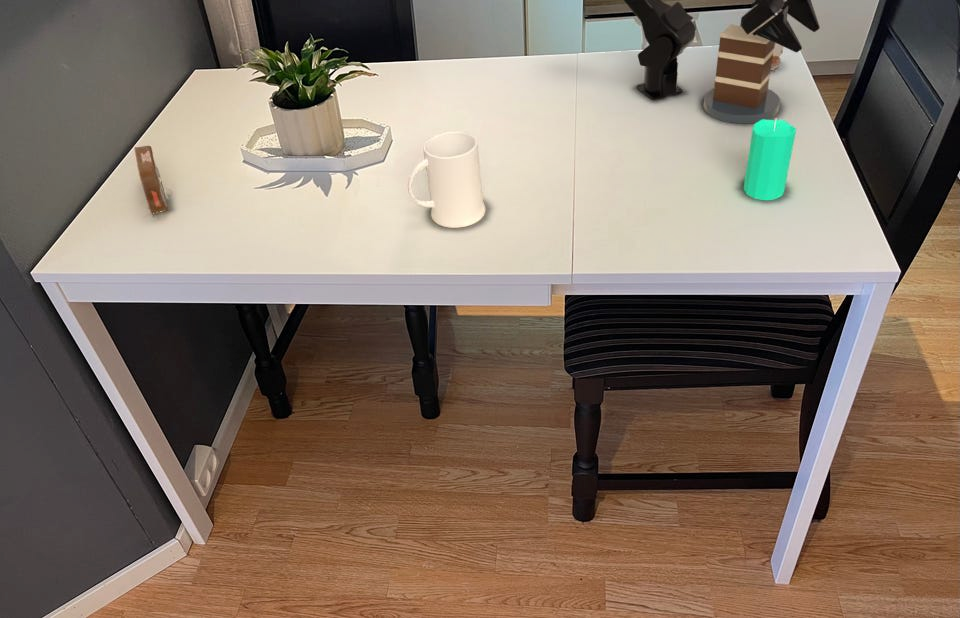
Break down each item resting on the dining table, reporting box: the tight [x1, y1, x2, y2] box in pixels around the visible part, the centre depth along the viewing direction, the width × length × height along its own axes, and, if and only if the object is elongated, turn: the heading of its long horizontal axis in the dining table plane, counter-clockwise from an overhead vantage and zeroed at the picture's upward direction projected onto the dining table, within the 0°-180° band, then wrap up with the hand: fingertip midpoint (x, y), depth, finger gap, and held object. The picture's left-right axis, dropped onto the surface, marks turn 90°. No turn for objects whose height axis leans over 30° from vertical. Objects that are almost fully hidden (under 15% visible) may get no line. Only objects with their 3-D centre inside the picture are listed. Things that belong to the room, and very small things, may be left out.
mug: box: [407, 131, 487, 229], centre depth 119 cm, size 12×8×12 cm
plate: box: [702, 87, 781, 124], centre depth 142 cm, size 13×13×2 cm
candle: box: [743, 117, 797, 201], centre depth 117 cm, size 6×6×12 cm
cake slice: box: [713, 24, 775, 108], centre depth 138 cm, size 8×5×12 cm, turn 56°
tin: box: [134, 145, 168, 215], centre depth 131 cm, size 15×3×8 cm, turn 23°
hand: (808, 40), depth 129 cm, fingers open, 9 cm apart
